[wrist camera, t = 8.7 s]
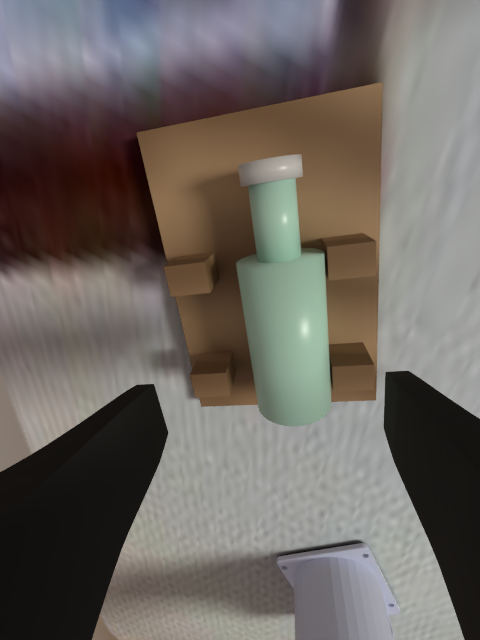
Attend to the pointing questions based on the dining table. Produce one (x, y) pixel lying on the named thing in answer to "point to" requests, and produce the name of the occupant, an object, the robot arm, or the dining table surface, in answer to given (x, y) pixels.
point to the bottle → (284, 299)
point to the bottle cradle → (238, 235)
